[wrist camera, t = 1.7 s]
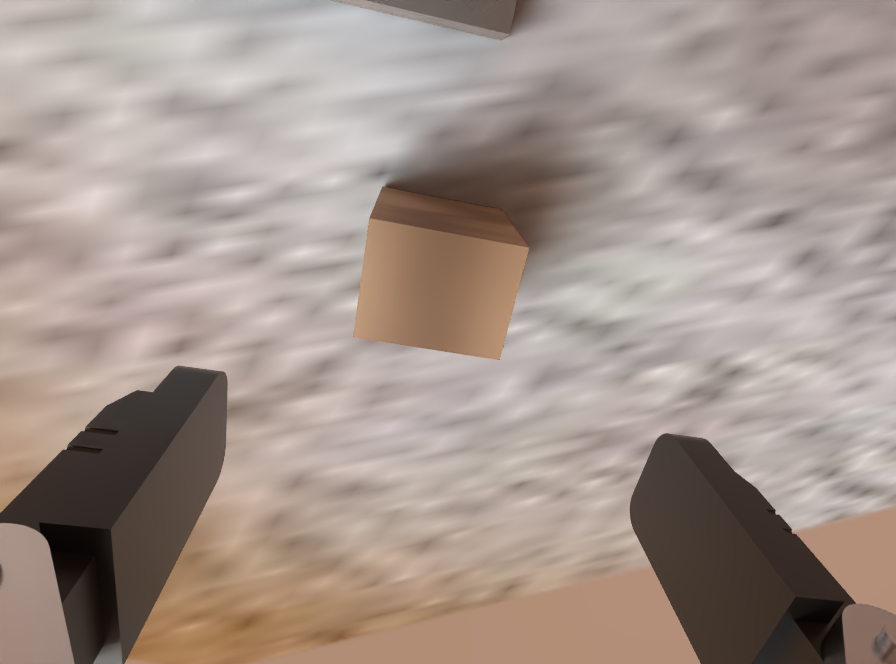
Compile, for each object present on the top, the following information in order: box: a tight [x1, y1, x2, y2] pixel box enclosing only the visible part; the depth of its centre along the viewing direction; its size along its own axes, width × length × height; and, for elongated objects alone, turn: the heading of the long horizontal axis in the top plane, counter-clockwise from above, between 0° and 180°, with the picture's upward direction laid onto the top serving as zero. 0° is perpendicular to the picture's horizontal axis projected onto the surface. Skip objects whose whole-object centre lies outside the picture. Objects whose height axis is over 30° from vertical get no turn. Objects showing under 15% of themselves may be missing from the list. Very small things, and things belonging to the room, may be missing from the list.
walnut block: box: [353, 187, 529, 360], centre depth 19 cm, size 5×4×6 cm
